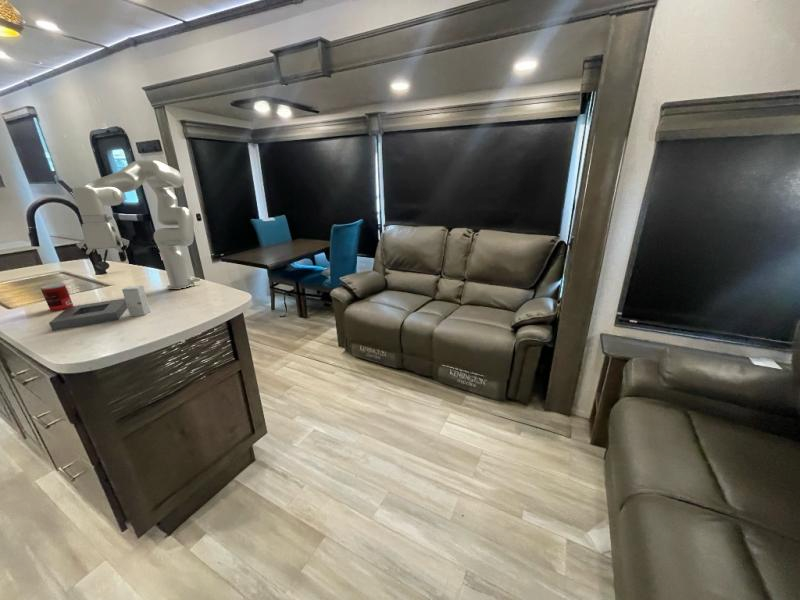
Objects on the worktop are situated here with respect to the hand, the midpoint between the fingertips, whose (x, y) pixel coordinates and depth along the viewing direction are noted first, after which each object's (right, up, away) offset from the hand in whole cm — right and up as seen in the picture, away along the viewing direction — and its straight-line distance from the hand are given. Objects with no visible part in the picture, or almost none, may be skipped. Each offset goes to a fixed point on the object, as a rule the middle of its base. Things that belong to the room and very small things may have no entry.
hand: (109, 262), depth 131 cm
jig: (-10, -23, +3) cm, 25 cm away
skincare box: (+9, -22, +5) cm, 24 cm away
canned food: (-36, -20, +15) cm, 43 cm away
